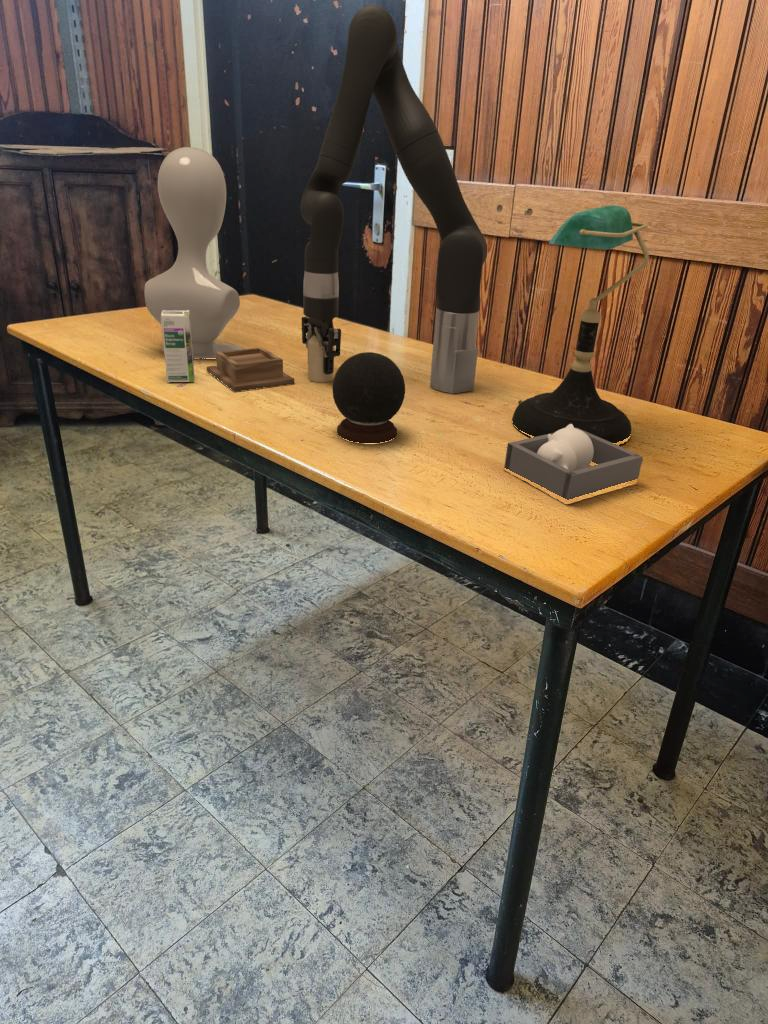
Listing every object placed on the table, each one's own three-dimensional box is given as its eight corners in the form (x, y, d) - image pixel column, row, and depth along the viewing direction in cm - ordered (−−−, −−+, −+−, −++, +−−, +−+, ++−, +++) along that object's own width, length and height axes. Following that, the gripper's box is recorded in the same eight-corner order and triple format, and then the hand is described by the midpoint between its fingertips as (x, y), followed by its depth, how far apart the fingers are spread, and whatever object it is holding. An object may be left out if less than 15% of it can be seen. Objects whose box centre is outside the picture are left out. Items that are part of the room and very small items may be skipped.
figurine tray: (636, 484, 116) (643, 456, 114) (566, 505, 108) (572, 475, 105) (572, 453, 126) (577, 427, 124) (503, 470, 118) (507, 442, 116)
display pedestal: (294, 384, 154) (294, 361, 152) (234, 392, 147) (233, 368, 145) (263, 365, 166) (263, 344, 164) (206, 371, 159) (205, 350, 157)
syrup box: (166, 383, 150) (159, 314, 143) (168, 375, 155) (161, 308, 148) (194, 383, 151) (188, 315, 145) (194, 375, 156) (189, 308, 150)
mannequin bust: (257, 345, 181) (251, 150, 161) (228, 366, 164) (217, 149, 143) (177, 337, 184) (161, 144, 163) (140, 357, 166) (116, 143, 146)
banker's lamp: (533, 398, 154) (564, 199, 135) (641, 420, 145) (690, 210, 126) (492, 435, 132) (522, 205, 114) (615, 463, 124) (670, 218, 105)
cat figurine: (559, 434, 108) (590, 413, 117) (504, 452, 116) (536, 431, 124) (580, 486, 109) (609, 461, 118) (524, 500, 117) (554, 476, 125)
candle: (308, 382, 156) (308, 337, 151) (307, 375, 160) (307, 331, 156) (333, 382, 157) (334, 338, 152) (331, 375, 161) (332, 331, 157)
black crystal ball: (413, 428, 134) (418, 351, 127) (384, 452, 123) (389, 368, 116) (351, 416, 138) (353, 340, 131) (318, 437, 127) (319, 356, 120)
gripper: (353, 298, 146) (351, 376, 154) (320, 286, 157) (319, 359, 165) (321, 301, 143) (320, 380, 150) (290, 288, 153) (291, 362, 161)
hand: (320, 369), depth 157 cm, fingers open, 7 cm apart
